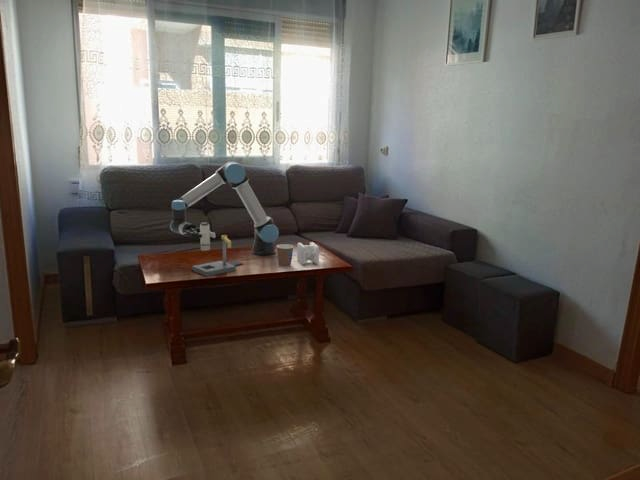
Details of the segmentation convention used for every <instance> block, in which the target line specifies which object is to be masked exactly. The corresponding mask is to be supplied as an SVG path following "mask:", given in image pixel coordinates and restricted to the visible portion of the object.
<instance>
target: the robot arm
mask: <svg viewBox="0 0 640 480" xmlns="http://www.w3.org/2000/svg"><path fill="white" fill-rule="evenodd" d="M249 180H250V178H249V176H248V175H247V173H246V171H245V167H244V166H243V165H242V164H241V163H239V162H237V161H233V160H230V161H228V162H226V163H224V164H223V165H222V166H221V167H219V168H217V170H215V173H214V174H212V175H211V176H210V177H208V178H206V179H205V180H204V181H202V182H201V183H199V184H198V185H197V186H195V187H193V188H192V189H191V190H189V191H188V192H186V193H184V195H182V196H181V197H179V198H177V199H175V200H172V201H171V205H170V206H171V207H170V208H171V210H172V211H171V213H172V220H171V221H170V222H169V223H170V224H169V229H170V230H171V231H172V232H173V233H176V234H180V235H183V236H185V237H189V238H195V239H201V238H202V239H206V234H203V233H200V227H197V226H196V225H195V224H194V223H191V222H188V221H187V220H186V210H187V209H188V208H189V207H190V206H192V205H194V204H195V203H197V202H198V201H200V200H201V199H202V198H204V197H206V196H207V195H208V194H210V193H211V192H212V191H214V190H215V189H217V188H218V187H220V186H222V185H223V184H224V185H226V184H227V183H228V184H229V185H230V187H231V189H234V190H236V193H237V195H238V196H239V198H240V199H241V201H242V204H243V205H244V207H245V209H246V210H247V212H248V214H249V215H250V217H251V219H252V220H253V222H254V224H253V227H254V241H253V244H252V247H251V254H253V255H259V256H268V255H274V254H275V253H276V249H275V248H276V247H275V244H274V242H275V241H276V240H277V239H278V237H279V233H280V232H279V228H278V227H277V226H276V224H275V223H274V219H273V218H272V217H271V216H267V214H266V212H265V210H264V208H263V206H262V205H261V203H260V202H259V199H258V198H257V195H256V194H255V192H254V191H253V189H252V186H251V185H250V184H249ZM209 230H210V238H213V239H215V238H216V233H215V232H213V230H212V229H209Z"/></svg>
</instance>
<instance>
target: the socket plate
mask: <svg viewBox="0 0 640 480" xmlns="http://www.w3.org/2000/svg"><path fill="white" fill-rule="evenodd" d="M226 262H227V242H226V241H225V240H222V260H217V261H212V262H207V263H201V264H197V265H192V266H191V268H192V271H193V272H195V273H198V274H201V275H203V276H205V277H209V276H210V277H211V276H216V275H219V274H225V273H229V272H234V271H237V270H236V269H237V266H234V265H231V264H228V263H226Z"/></svg>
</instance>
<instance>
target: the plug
mask: <svg viewBox="0 0 640 480" xmlns="http://www.w3.org/2000/svg"><path fill="white" fill-rule="evenodd" d="M199 228H200V233H203V234H206V239H202V238H200V243H199V246H200V251H202V252H205V251H210V250H211V245H212V243H211V237H210V230H211V229H210V224H209V222H200V225H199Z"/></svg>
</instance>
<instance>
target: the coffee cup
mask: <svg viewBox="0 0 640 480" xmlns="http://www.w3.org/2000/svg"><path fill="white" fill-rule="evenodd" d="M294 247H295V246H294V245H293V244H290V243H289V244H287V243H283V244H282V243H280V244H277V245H276V247H275V248H276V253H277V262H278V263H277V264H278V266H279V267H281V268H289V267H291V265H292V260H293V251H294Z"/></svg>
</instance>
